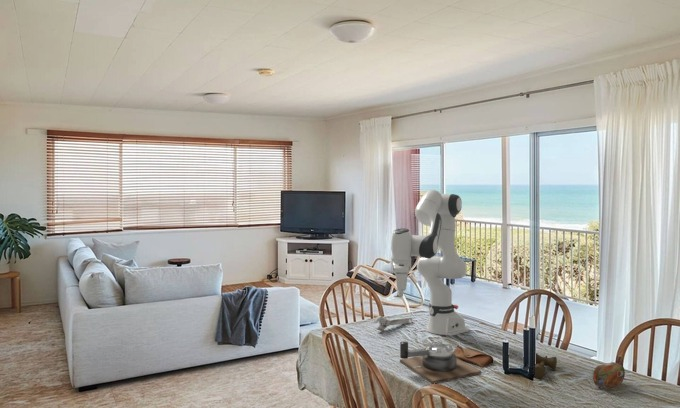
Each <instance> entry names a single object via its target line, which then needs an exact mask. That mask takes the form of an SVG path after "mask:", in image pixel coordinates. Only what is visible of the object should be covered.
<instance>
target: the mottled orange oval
mask: <svg viewBox="0 0 680 408" xmlns="http://www.w3.org/2000/svg"><path fill="white" fill-rule="evenodd" d="M625 376H626V370H625V368H624V366H623V365H622V364H621V363H618V362H615V361H614V362H611V361H610V362H608V363H604V364H599V365H597V366H596V367H595V368H594V370H593V372H592V380H593V383H594V385H595V386H596V387H599V388H601V389H602V390H603V389H604V390H607V389H609V388H613V387H617V386H620V385H621V384H622V383H623V381H624V380H625Z"/></svg>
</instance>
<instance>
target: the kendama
mask: <svg viewBox="0 0 680 408" xmlns="http://www.w3.org/2000/svg"><path fill="white" fill-rule="evenodd" d="M557 363H558V359H557V357H556V356H552V357H548V356H547V355H545V357H544V356H542V355H540V354H538V353H537V352H536V364H535V377H534V378H536V379H540V380H541V379H544V378H545V376H546V371H547V368H550V369H551V370H553V371H556V369H557V366H558V365H557ZM546 367H547V368H546Z"/></svg>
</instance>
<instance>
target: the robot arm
mask: <svg viewBox="0 0 680 408" xmlns="http://www.w3.org/2000/svg"><path fill="white" fill-rule="evenodd" d="M462 209H463V201H462V198H461V196H460V195H458V194H456V193H455V194H454V193H451V194H449V193H440V191H438V190H436V189H430V190H427V191H426V192H425V193H424V194H423V195H422V196H421V198H420V199H419V201H418V203H417V205H416V206H415V209H414V214H415V218H416V219H417V221H418V222H419V223H421V224H423V225H424V226H428V227H429V230H428V231H429V232H428V233H427V234H425V235H420V234H419V235H418V234H411V231H410V229H408V228H402V227H401V228H396V229H395V230H393V231H392V235H391V258H390V265H391V266H390V269H391V270H392V271H393V273H394V275H395V281H396V290H397V291H398V297H399V298H402V297H404V292H405V291H406V290H407V286H408V285H407V284H408V276H409V273H410V271H411V270H412V257H418V258H419V259H418V260H417V263H416V270H417V271H418V273H419V275H421V276H422V277H423V278H424V280H425V281H426V283H427V285H428V288H429V305H428V311H429V313H428V314H429V316H428V324H427V327H426V331H427V332H429V333H431V334H434V335H440V336H441V335H442V336H451V337H452V336H456V335H459V334H462V333H463V334H464V333H467V332H470V327H468V326H467V325H466V322H465V319H464V317H462V316H461V315H460V314H459V313H458V312H456V310H458V309H459V305H458V304H453V303H452V301H453V299H452V298H453V297H452V296H453V291H452V289H451V287H450V286H449V285H447V284H446V283H444V282H443V280H442V279H449V280H459V279H463V278H464V277H465V275H466V274H467V271H468V270H467V267H468V266H467V265H466V262H465V261H464V260H463V259H462V258H461V257H460V256H459V254H458V252H457V250H456V245H455V243H456V242H455V239H456V217H457V215H459V214H460V213H461V211H462ZM438 250H439V251H441V253H442V256H436V255H437V252H438Z"/></svg>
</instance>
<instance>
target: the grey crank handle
mask: <svg viewBox="0 0 680 408" xmlns="http://www.w3.org/2000/svg"><path fill="white" fill-rule="evenodd" d="M399 344H400V345H399V346H400V347H399V349H400V350H399V351H400V352H399V355H400V356H399V357H400V359H406V358H412V357H418V356H424V355H427V356H428V357H429V358H432V359H436V360H448V359H451V358H452V357H453V352H454V348H453V344H452V343H447V344H445V343H444V344H443V341H437V343H434V342H431V341H429V342H427V343H426V344H427V345H426V346H425V348H418V349H417V348H416V349H409V342H408V341H400V343H399Z"/></svg>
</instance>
